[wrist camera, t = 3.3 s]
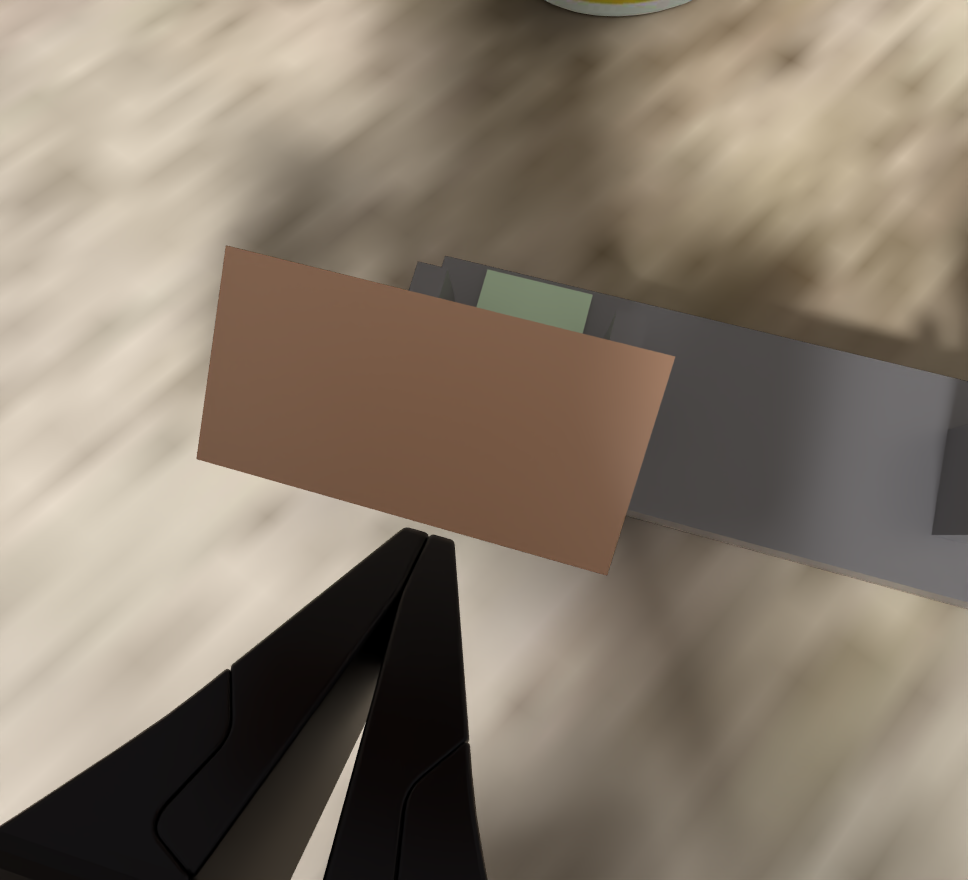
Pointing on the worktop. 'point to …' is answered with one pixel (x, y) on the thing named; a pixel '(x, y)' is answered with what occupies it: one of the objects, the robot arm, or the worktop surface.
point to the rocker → (429, 408)
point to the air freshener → (616, 6)
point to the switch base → (775, 436)
